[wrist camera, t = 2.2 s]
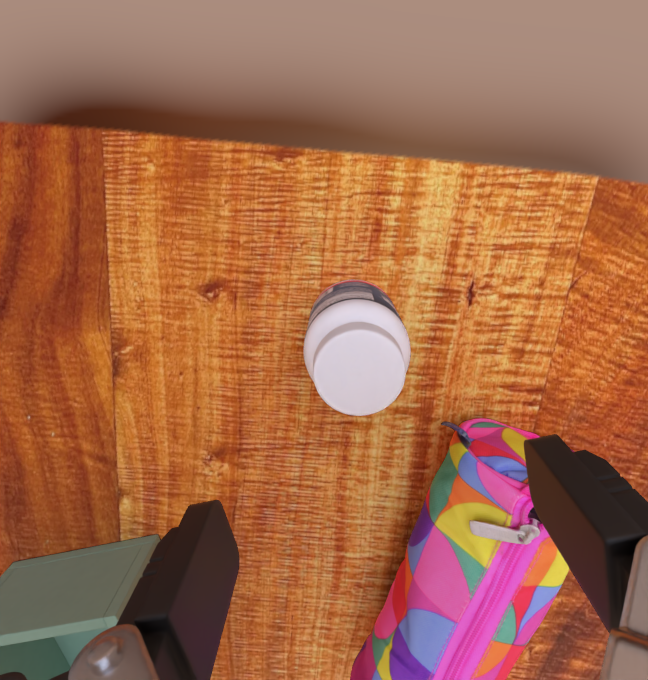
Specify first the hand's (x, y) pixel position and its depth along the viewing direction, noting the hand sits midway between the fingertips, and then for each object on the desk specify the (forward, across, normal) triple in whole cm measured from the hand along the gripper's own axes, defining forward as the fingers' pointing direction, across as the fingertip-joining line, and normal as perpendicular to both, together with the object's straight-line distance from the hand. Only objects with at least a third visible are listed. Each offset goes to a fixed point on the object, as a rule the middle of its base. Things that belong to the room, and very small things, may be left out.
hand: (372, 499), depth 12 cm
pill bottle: (+17, 0, 0) cm, 17 cm away
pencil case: (+17, -3, +17) cm, 24 cm away
